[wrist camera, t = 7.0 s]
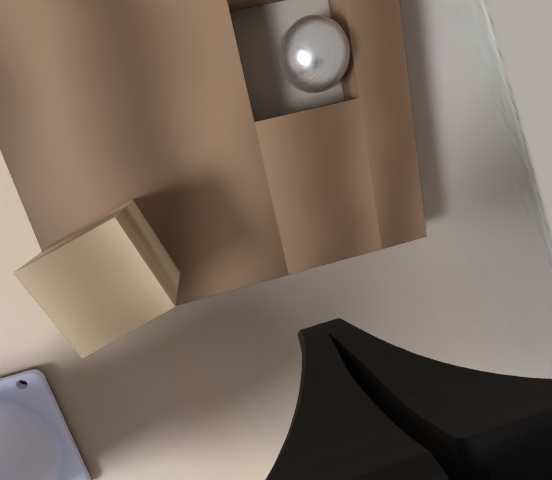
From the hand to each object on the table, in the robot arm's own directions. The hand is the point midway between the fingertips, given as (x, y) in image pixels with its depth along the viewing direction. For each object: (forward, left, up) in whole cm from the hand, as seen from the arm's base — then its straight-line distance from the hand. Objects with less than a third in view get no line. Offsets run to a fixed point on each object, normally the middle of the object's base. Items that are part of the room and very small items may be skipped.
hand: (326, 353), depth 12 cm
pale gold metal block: (-7, +2, -8) cm, 11 cm away
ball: (+4, +9, -9) cm, 13 cm away
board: (-1, +7, -10) cm, 13 cm away
